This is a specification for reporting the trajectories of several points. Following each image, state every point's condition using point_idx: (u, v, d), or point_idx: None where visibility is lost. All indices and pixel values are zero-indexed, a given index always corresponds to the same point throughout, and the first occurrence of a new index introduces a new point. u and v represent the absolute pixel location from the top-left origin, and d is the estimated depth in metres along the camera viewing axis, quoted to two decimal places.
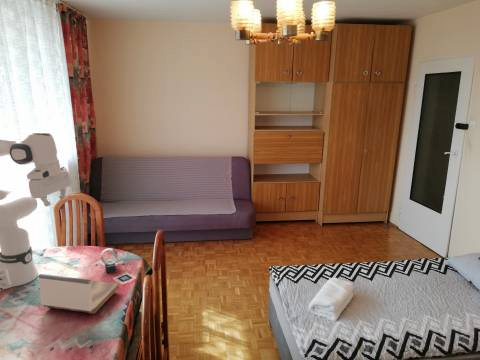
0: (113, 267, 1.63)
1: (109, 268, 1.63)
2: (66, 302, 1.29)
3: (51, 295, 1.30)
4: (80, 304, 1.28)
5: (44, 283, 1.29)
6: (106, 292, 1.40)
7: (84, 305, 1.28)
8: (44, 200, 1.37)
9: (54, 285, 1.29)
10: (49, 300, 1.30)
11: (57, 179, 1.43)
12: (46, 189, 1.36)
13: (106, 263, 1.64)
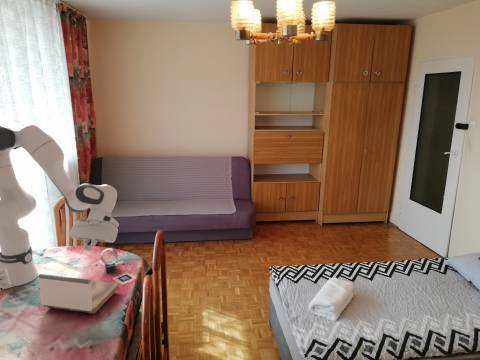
0: (113, 267, 1.63)
1: (109, 268, 1.63)
2: (66, 302, 1.29)
3: (51, 295, 1.30)
4: (80, 304, 1.28)
5: (44, 283, 1.29)
6: (106, 292, 1.40)
7: (84, 305, 1.28)
8: (94, 244, 1.42)
9: (54, 285, 1.29)
10: (49, 300, 1.30)
11: None
12: None
13: (106, 263, 1.64)
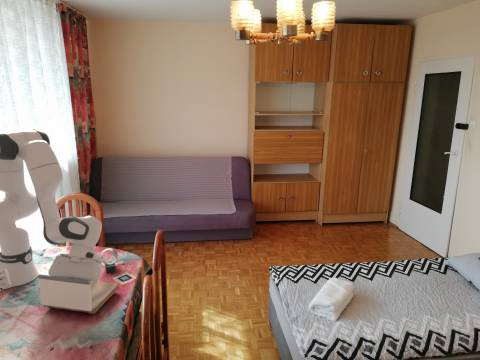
0: (113, 267, 1.63)
1: (109, 268, 1.63)
2: (66, 302, 1.29)
3: (51, 295, 1.29)
4: (80, 304, 1.28)
5: (43, 283, 1.29)
6: (106, 292, 1.40)
7: (84, 305, 1.28)
8: None
9: (53, 285, 1.28)
10: (49, 300, 1.30)
11: None
12: None
13: (106, 263, 1.64)
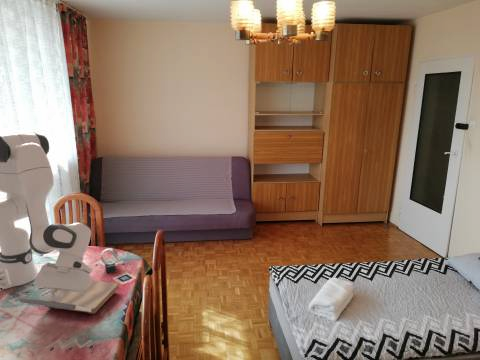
0: (113, 267, 1.63)
1: (109, 268, 1.63)
2: None
3: None
4: None
5: None
6: (106, 292, 1.40)
7: None
8: (62, 295, 1.24)
9: None
10: None
11: None
12: None
13: (106, 263, 1.64)
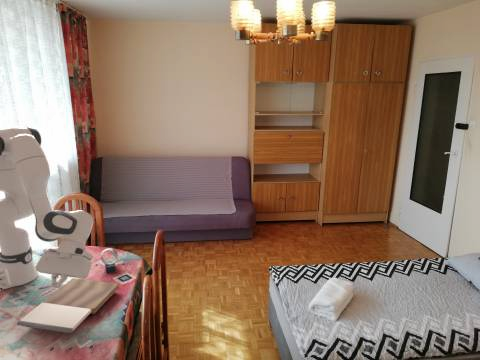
0: (113, 267, 1.63)
1: (109, 268, 1.63)
2: None
3: None
4: None
5: None
6: (106, 292, 1.40)
7: None
8: (63, 280, 1.25)
9: None
10: None
11: None
12: None
13: (106, 263, 1.64)
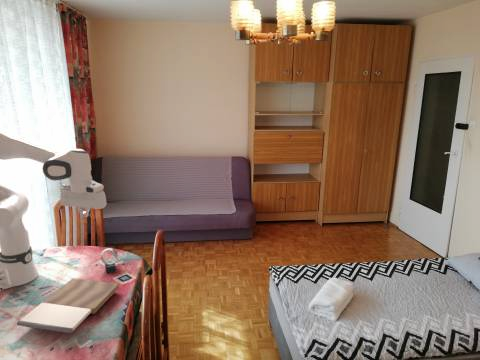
0: (113, 267, 1.63)
1: (109, 268, 1.63)
2: None
3: None
4: None
5: None
6: (106, 292, 1.40)
7: None
8: (88, 210, 1.48)
9: None
10: None
11: None
12: None
13: (106, 263, 1.64)
